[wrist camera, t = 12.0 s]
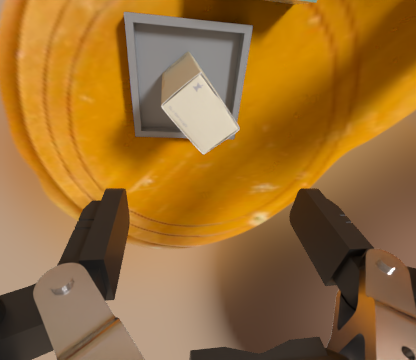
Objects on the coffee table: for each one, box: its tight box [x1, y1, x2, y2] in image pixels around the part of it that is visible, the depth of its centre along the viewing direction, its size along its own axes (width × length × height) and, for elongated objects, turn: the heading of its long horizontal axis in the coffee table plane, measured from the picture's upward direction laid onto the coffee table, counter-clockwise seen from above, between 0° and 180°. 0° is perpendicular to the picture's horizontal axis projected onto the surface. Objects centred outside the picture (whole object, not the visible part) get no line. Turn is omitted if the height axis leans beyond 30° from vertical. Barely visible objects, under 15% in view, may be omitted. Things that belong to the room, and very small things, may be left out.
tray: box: [124, 12, 253, 139], centre depth 29 cm, size 14×14×2 cm
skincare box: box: [161, 51, 240, 154], centre depth 25 cm, size 6×4×12 cm
